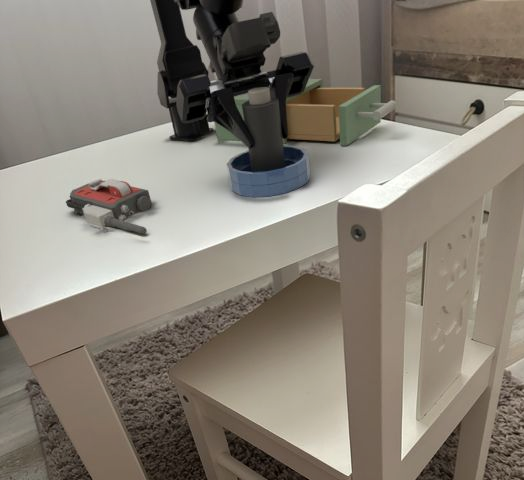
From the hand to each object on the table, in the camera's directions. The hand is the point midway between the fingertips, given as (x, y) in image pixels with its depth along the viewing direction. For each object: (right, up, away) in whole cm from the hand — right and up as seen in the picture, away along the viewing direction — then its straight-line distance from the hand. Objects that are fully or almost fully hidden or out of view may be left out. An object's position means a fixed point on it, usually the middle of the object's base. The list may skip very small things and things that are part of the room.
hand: (268, 141), depth 70 cm
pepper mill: (0, -4, +5) cm, 6 cm away
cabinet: (+1, +12, +26) cm, 28 cm away
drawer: (+12, +9, +18) cm, 23 cm away
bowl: (0, -4, +5) cm, 7 cm away
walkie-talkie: (-21, -9, +4) cm, 23 cm away
